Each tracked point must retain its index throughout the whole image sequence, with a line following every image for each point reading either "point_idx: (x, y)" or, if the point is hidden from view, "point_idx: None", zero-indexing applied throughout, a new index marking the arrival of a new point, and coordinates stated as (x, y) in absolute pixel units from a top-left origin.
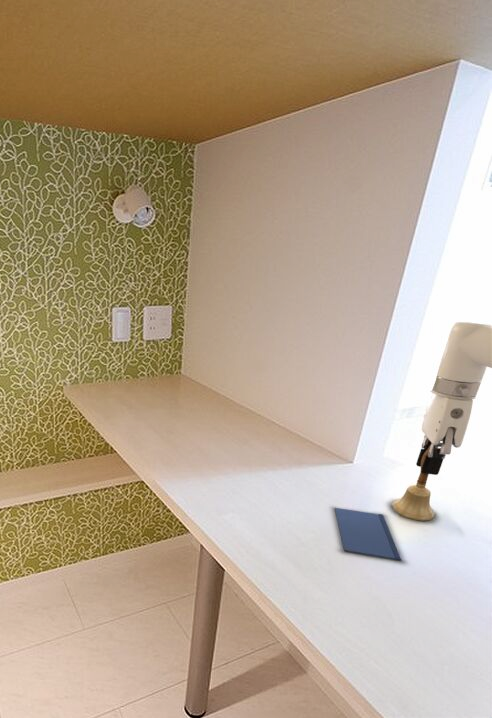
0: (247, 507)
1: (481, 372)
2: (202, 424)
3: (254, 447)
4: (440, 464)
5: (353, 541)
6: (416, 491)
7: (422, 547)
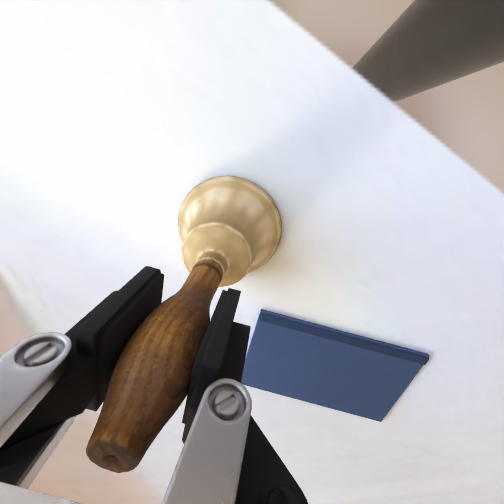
0: None
1: None
2: None
3: None
4: (228, 332)
5: (357, 400)
6: (233, 278)
7: (392, 291)
